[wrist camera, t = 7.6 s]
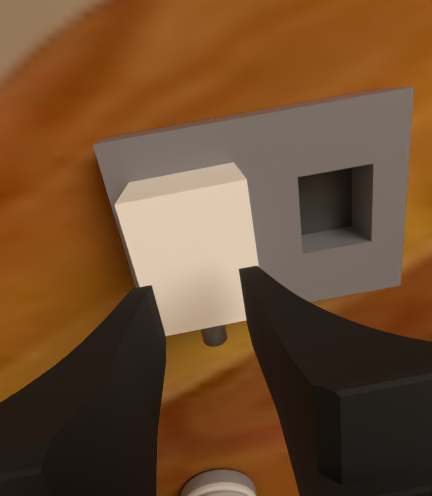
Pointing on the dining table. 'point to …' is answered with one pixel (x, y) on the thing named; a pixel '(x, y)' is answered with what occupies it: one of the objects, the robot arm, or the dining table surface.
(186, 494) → the travel mug
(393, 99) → the socket plate
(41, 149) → the dining table surface
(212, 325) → the plug
